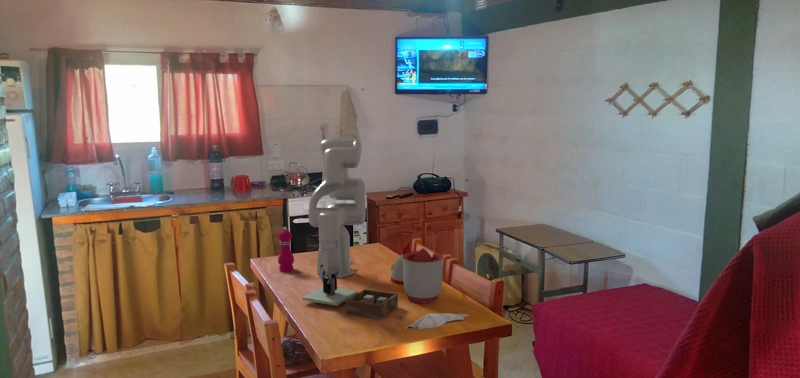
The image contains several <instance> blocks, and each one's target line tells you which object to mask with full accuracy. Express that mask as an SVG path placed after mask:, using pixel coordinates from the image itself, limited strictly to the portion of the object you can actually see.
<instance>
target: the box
mask: <svg viewBox="0 0 800 378" xmlns="http://www.w3.org/2000/svg"><path fill="white" fill-rule="evenodd" d="M398 298H399V295H398V293H393V292H387V291H380V290H375V289H369V288H363V289H362V290H360V291H357V294H355V295H354V296H352V297H350V298H349V299H347V300H346V301H345V315H349V316H350V315H352V316H357V317H361V318H362V317H363V318H367V319H368V318H369V319H373V320H379V321H381V320H383V319H384V318H385V317H387V316H388V315H389V314H390V313H391V312H393V311H394V310H396V309H397V308H398V307H399V305H398V303H399V301H398Z"/></svg>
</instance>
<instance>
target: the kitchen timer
mask: <svg viewBox="0 0 800 378" xmlns="http://www.w3.org/2000/svg"><path fill="white" fill-rule="evenodd" d="M402 250H403V251H401V255H399V256H398V257H397V259H396V260H395V261H394V263H392V264H391V269H390V270H391V272H390V282H392V283H393V284H395V285H399V286H400V285H401V286H404V280H403V255H404V254H406V253H409V252H412V249H411V247H410V246H409V245H405V246H404V247H403V249H402Z"/></svg>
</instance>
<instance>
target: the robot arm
mask: <svg viewBox="0 0 800 378" xmlns="http://www.w3.org/2000/svg"><path fill="white" fill-rule="evenodd" d="M362 150H363V148H362V142H361V141H360V140H359V139H358V138H326V139H323V140H322V141H321V142H320V151H321V154H322V156H323V157H322V159H323V160H322V174H321V175H322V180H321V183H320V184H319V185H318V187H316V188H315V189H314V191H313V192H312V195H311V196H310V198H309V205H308V223H309V224H310V226H311V227H313V228H318V245H319V246H318V252H317V260H316V261H317V264H316V274H317V276H318V279H319V280H320V281H321V283H322V287H323V292H324V293H328V294H330V293H331V283H330V277H332V278H335V290H337V288H338V278H346V277H347V278H348V277H349V276H352V275H353V274H354V269H353V268H351V266H352V265H354V264H355V261H354V260H351V249H350V248H351V247H350V246H351V245H350V244H351V242H350V239H351V236H350V233H349V231H348V230H347V228H346V227H345V226H361V225H363V224H364V223H365V222H366V214H367V213H366V212H367V211H366V186H365V185H366V184H365V181H364V180H362V179H361V178H358V177H356V178H354V177H351V178H349V174H348V172H349V169H356V168H358V166H359V165H360V162H361V156H362ZM326 195H329V198H330V199H331V200H334V201H353V202H352V203H351V202H349V203H347V202H335V203H331V204H328V205H326V207H318V203H319V201H320V200H321V198H324V197H325V196H326Z"/></svg>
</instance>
